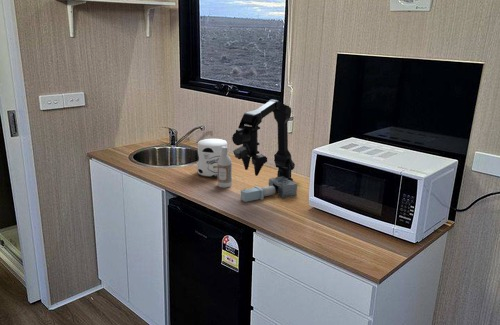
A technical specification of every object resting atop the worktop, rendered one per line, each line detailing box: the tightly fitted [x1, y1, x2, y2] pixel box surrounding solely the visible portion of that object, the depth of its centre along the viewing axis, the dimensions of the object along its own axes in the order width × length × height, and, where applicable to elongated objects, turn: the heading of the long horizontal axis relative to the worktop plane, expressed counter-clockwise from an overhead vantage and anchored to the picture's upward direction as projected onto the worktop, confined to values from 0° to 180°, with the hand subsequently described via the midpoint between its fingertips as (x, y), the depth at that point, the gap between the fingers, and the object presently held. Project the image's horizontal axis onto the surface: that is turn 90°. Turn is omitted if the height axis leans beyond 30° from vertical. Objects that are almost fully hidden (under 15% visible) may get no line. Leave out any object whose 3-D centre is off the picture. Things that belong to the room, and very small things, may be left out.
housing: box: [268, 176, 298, 199], centre depth 209 cm, size 8×12×6 cm, turn 30°
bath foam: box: [217, 146, 233, 189], centre depth 215 cm, size 7×7×20 cm
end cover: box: [240, 185, 277, 203], centre depth 202 cm, size 16×6×5 cm, turn 120°
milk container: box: [196, 138, 228, 178], centre depth 231 cm, size 17×17×18 cm
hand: (251, 172), depth 203 cm, fingers open, 9 cm apart
